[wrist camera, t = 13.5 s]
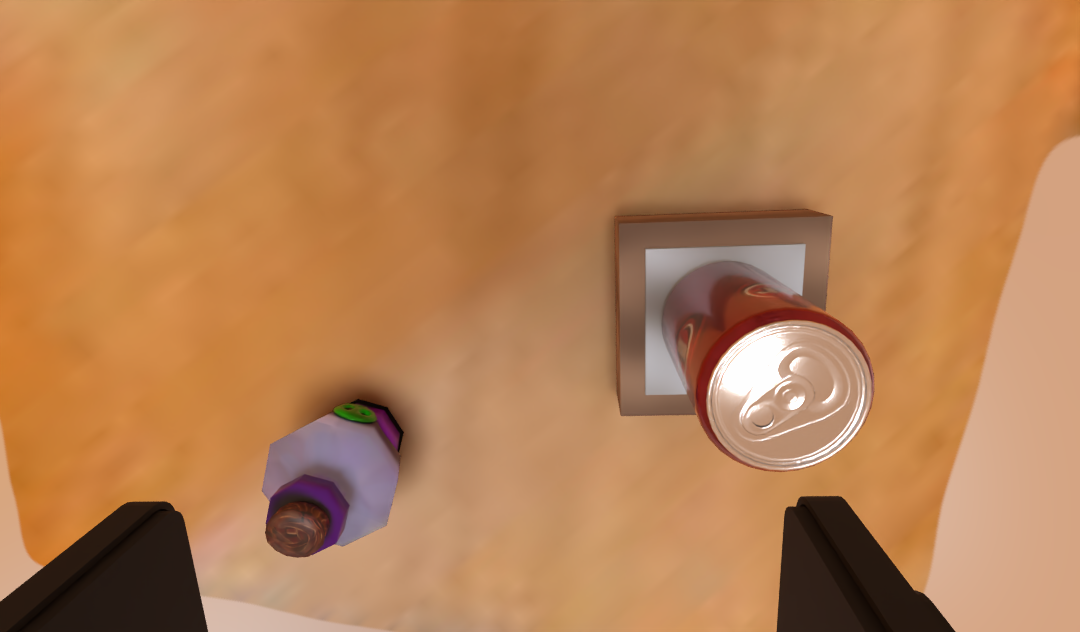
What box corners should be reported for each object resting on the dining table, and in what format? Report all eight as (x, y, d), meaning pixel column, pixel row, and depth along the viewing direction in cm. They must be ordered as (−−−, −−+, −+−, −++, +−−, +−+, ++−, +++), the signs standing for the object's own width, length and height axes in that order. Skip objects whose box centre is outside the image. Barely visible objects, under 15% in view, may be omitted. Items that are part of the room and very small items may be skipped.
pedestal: (614, 216, 40) (619, 224, 36) (807, 209, 39) (834, 216, 35) (616, 391, 43) (621, 418, 39) (795, 388, 42) (819, 414, 38)
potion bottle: (413, 373, 44) (355, 456, 32) (433, 484, 46) (385, 599, 34) (294, 384, 44) (195, 469, 33) (319, 493, 46) (235, 608, 35)
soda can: (741, 233, 36) (821, 275, 24) (808, 332, 37) (915, 417, 25) (635, 306, 37) (663, 379, 25) (703, 399, 38) (759, 509, 27)
